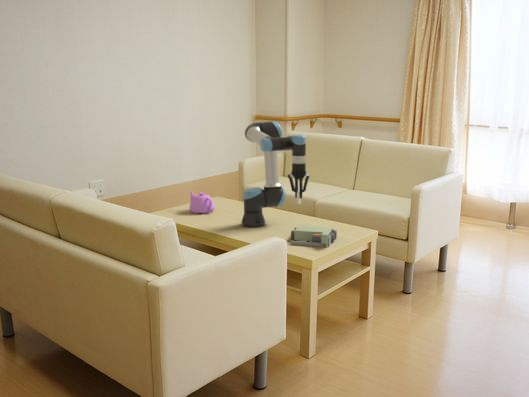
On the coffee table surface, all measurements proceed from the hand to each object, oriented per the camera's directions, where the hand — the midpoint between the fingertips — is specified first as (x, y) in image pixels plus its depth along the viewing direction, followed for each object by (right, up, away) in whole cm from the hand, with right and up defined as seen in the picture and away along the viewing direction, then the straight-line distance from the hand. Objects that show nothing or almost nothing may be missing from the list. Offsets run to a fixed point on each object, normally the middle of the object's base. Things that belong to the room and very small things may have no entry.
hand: (298, 203), depth 317 cm
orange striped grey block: (+12, -22, -6) cm, 26 cm away
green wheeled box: (+8, -21, +1) cm, 23 cm away
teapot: (-65, -6, +81) cm, 104 cm away
